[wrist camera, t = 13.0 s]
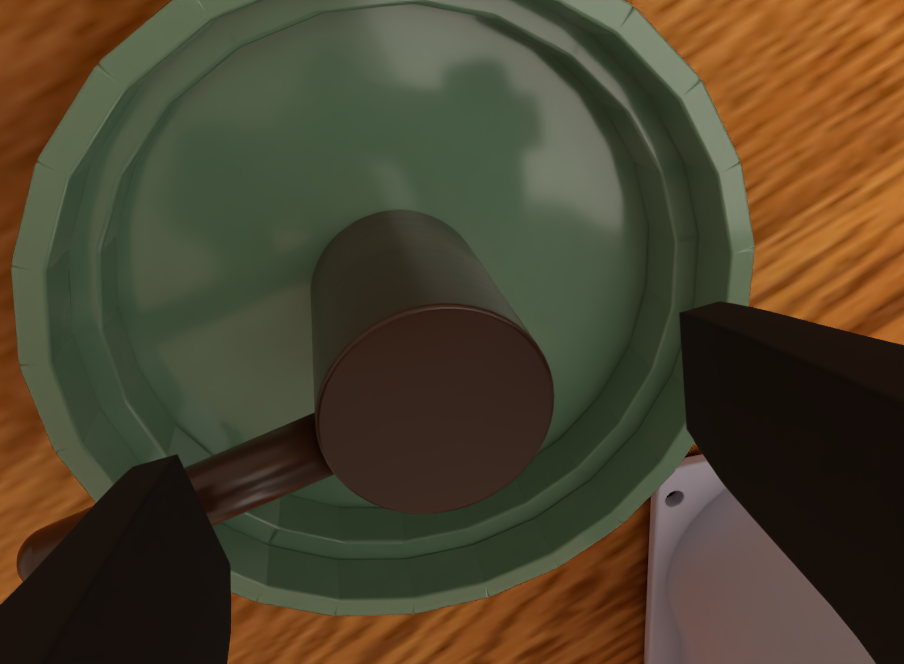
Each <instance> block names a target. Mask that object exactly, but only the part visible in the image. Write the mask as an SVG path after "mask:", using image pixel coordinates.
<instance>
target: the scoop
mask: <svg viewBox="0 0 904 664" xmlns="http://www.w3.org/2000/svg"><path fill="white" fill-rule="evenodd" d="M311 322H312V353H313V383H314V413H312V414H310V415H307V416H305V417H302V418H300V419H298V420H295V421H293V422H291V423H288V424H286V425H284V426H281V427H279V428H277V429H274V430H272V431H269V432H267V433H265V434H262V435H260V436H258V437H255V438H253V439H251V440H248V441H246V442H244V443H241V444H239V445H236V446H234V447H232V448H229V449H227V450H225V451H222V452H220V453H218V454H215V455H213V456H211V457H208V458H206V459H203V460H201V461H199V462H196V463H194V464H192V465H189V466H187V467H185V471H186V473H187V475H188V477H189V479H190V481H191V483H192V485H193V487H194V489H195V491H196V494H197V496H198V498H199V500H200V502H201V504H202V506H203V508H204V510H205V512H206V514H207V516H208V519H209V521H210V523H211V525H212V526H214V525H217V524H219V523H221V522H224V521H226V520H229V519H231V518H233V517H236V516H238V515H240V514H243V513H245V512H247V511H250V510H252V509H254V508H257V507H259V506H261V505H264V504H266V503H268V502H271V501H273V500H276V499H278V498H280V497H283V496H285V495H287V494H290V493H292V492H294V491H297V490H299V489H301V488H304V487H306V486H308V485H311V484H313V483H315V482H318V481H320V480H322V479H325V478H327V477H330V476H332V475H335V476H336V477H337V478H338V479H339V480H340V481H341V482H342V483H343V484H344V485H345V486H346V487H347V488H348V489H350V490H351V491H352V492H353V493H355V494H356V495H358V496H359V497H361V498H363V499H364V500H366V501H368V502H370V503H373V504H375V505H377V506H379V507H383V508H386V509H389V510H393V511H398V512H404V513H414V514H432V513H441V512H448V511H453V510H456V509H460V508H464V507H467V506H470V505H472V504H475V503H478V502H480V501H482V500H484V499H486V498H488V497H490V496H492V495H493V494H495V493H497V492H498V491H500V490H501V489H503V488H504V487H506V486H507V485H508V484H510V483H511V482H512V481H513V480H515V479H516V478H517V477H518V476H519V475H520V474H521V473H522V472H523V471H524V470H525V469H526V468H527V466H528V465H529V464H530V463H531V461H532V460H533V459H534V458H535V456H536V454H537V453H538V451H539V450H540V448H541V446H542V444H543V442H544V440H545V438H546V436H547V434H548V431H549V428H550V424H551V421H552V416H553V410H554V395H555V393H554V384H553V378H552V374H551V370H550V367H549V365H548V363H547V360H546V358H545V356H544V354H543V352H542V351H541V349H540V348H539V346H538V345H537V343H536V342H535V340H534V339H533V337H532V336H531V334H530V333H529V332H528V330H527V329H526V327H525V326H524V324H523V323H522V321H521V320H520V319H519V317H518V316H517V314H516V313H515V311H514V310H513V308H512V307H511V306H510V304H509V303H508V301H507V300H506V298H505V297H504V295H503V294H502V293H501V291H500V290H499V288H498V287H497V285H496V284H495V282H494V281H493V280H492V278H491V277H490V275H489V274H488V272H487V271H486V269H485V268H484V267H483V265H482V264H481V262H480V261H479V259H478V258H477V256H476V255H475V254H474V252H473V251H472V249H471V248H470V246H469V245H468V243H467V242H466V241H465V240H464V239H463V238H462V236H461V235H460V234H459V233H458V232H456V231H455V230H454V229H453V228H452V227H450V226H449V225H447V224H446V223H444V222H443V221H441V220H439V219H437V218H435V217H432V216H429V215H426V214H423V213H419V212H413V211H402V210H396V211H386V212H381V213H376V214H373V215H370V216H367V217H364V218H362V219H360V220H358V221H356V222H354V223H352V224H351V225H349V226H348V227H346V228H345V229H343V230H342V231H341V232H340V233H339V234H338V235H337V236H336V237H334V239H333V240H332V241H331V242H330V243H329V244H328V245H327V247H326V248H325V250H324V251H323V253H322V254H321V256H320V258H319V260H318V262H317V265H316V267H315V270H314V274H313V277H312V283H311ZM91 508H92V507H90V508H88V509H86V510H83V511H81V512H78V513H76V514H74V515H71V516H69V517H67V518H64V519H62V520H60V521H57V522H55V523H53V524H50V525H48V526H45V527H43V528H41V529H39V530H37V531H36V532H34V533H33V534H32V535H31V536H29V537H28V538H27V539H26V540H25V542H24V543H23V545H22V546H21V548H20V550H19V553H18V556H17V571H18V574H19V577H20V578H21V580H22V581H23V582H24V581H25V580H26V579H27V577H28V576H29V575H30V574H31V573H32V572H33V571H34V570H35V569H36V568H37V567H38V566H39V565H40V563H41V562H42V561H43V560H44V559H45V558H46V557H47V556H48V555H49V554H50V553H51V552H52V550H53V549H54V548H55V547H56V546H57V545H58V544H59V543H60V542H61V541H62V540H63V539H64V537H65V536H66V535H67V534H68V533H69V532H70V531H71V530H72V529H73V528H74V527H75V525H76V524H77V523H78V522H79V521H80V520H81V519H82V518H83V517H84V516H85V515H86V513H87V512H88V511H89V510H90V509H91Z"/></svg>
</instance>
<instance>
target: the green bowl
mask: <svg viewBox="0 0 904 664" xmlns="http://www.w3.org/2000/svg"><path fill="white" fill-rule="evenodd" d="M396 210H402V211H413V212H419V213H423V214H426V215H429V216H432V217H435V218H437V219H439V220H441V221H443V222H444V223H446V224H447V225H449V226H450V227H452V228H453V229H454V230H455V231H456V232H458V233H459V234H460V235H461V236H462V238H463V239H464V240H465V241H466V242H467V243H468V245H469V246H470V248H471V249H472V251H473V252H474V254H475V255H476V256H477V258H478V259H479V261H480V262H481V264H482V265H483V267H484V268H485V269H486V271H487V272H488V274H489V275H490V277H491V278H492V280H493V281H494V282H495V284H496V285H497V287H498V288H499V290H500V291H501V293H502V294H503V295H504V297H505V298H506V300H507V301H508V303H509V304H510V306H511V307H512V308H513V310H514V311H515V313H516V314H517V316H518V317H519V319H520V320H521V321H522V323H523V324H524V326H525V327H526V329H527V330H528V332H529V333H530V334H531V336H532V337H533V339H534V340H535V342H536V343H537V345H538V346H539V348H540V349H541V351H542V352H543V354H544V356H545V358H546V360H547V363H548V365H549V367H550V370H551V374H552V378H553V384H554V393H555V395H554V410H553V416H552V421H551V424H550V428H549V431H548V434H547V436H546V438H545V440H544V442H543V444H542V446H541V448H540V450H539V451H538V453H537V454H536V456H535V458H534V459H533V460H532V461H531V463H530V464H529V465H528V466H527V468H526V469H525V470H524V471H523V472H522V473H521V474H520V475H519V476H518V477H517V478H516V479H515V480H513V481H512V482H511V483H510V484H508V485H507V486H506V487H504V488H503V489H501V490H500V491H498V492H497V493H495V494H493V495H492V496H490V497H488V498H486V499H484V500H482V501H480V502H478V503H475V504H472V505H470V506H467V507H464V508H460V509H456V510H453V511H448V512H441V513H432V514H414V513H404V512H398V511H393V510H389V509H386V508H383V507H379V506H377V505H375V504H373V503H370V502H368V501H366V500H364V499H363V498H361V497H359V496H358V495H356V494H355V493H353V492H352V491H351V490H350V489H348V488H347V487H346V486H345V485H344V484H343V483H342V482H341V481H340V480H339V479H338V478H337V477H336V476H335V475H332V476H330V477H327V478H325V479H322V480H320V481H318V482H315V483H313V484H311V485H308V486H306V487H304V488H301V489H299V490H297V491H294V492H292V493H290V494H287V495H285V496H283V497H280V498H278V499H276V500H273V501H271V502H268V503H266V504H264V505H261V506H259V507H257V508H254V509H252V510H250V511H247V512H245V513H243V514H240V515H238V516H236V517H233V518H231V519H229V520H226V521H224V522H221V523H219V524H217V525H214V526H212V527H213V529H214V531H215V533H216V535H217V537H218V539H219V542H220V544H221V546H222V548H223V550H224V552H225V554H226V556H227V558H228V560H229V562H230V567H231V592H232V593H234V594H236V595H239V596H241V597H244V598H246V599H249V600H251V601H256V602H258V603H262V604H267V605H273V606H279V607H284V608H290V609H295V610H301V611H307V612H312V613H318V614H323V615H329V616H334V615H335V616H372V615H410V614H412V613H414V614H417V613H422V612H426V611H431V610H435V609H440V608H444V607H449V606H454V605H458V604H463V603H467V602H472V601H476V600H481V599H485V598H487V597H488V596H489V597H492V596H494V595H496V594H499V593H501V592H503V591H506V590H508V589H510V588H512V587H515V586H517V585H519V584H522V583H524V582H526V581H529V580H531V579H533V578H536V577H538V576H540V575H543V574H545V573H547V572H550V571H552V570H554V569H557V568H558V566H562V565H564V564H565V563H567V562H568V561H569V560H571V559H572V558H574V557H575V556H577V555H578V554H580V553H581V552H583V551H584V550H586V549H587V548H589V547H590V546H592V545H593V544H595V543H596V542H597V541H599V540H600V539H602V538H603V537H605V536H606V535H608V534H609V533H611V532H612V531H614V530H615V529H617V528H618V527H620V526H621V525H622V524H621V523H624V522H626V521H627V520H628V519H629V518H630V516H631V515H632V514H633V513H634V512H635V511H636V510H637V509H638V508H639V507H640V506H641V505H642V504H643V503H644V502H645V501H646V500H647V499H648V498H649V497H650V496H651V495H652V494H653V493H654V492H655V491H656V490H657V489H658V488H659V487H660V486H661V485H662V484H663V483H664V482H665V481H666V480H667V479H668V478H669V477H670V476H671V475H672V474H673V473H674V472H675V470H676V469H675V468H678V467H679V466H680V464H681V462H682V461H683V459H684V458H685V456H686V455H687V453H688V452H689V450H690V448H691V447H692V445H693V444H694V442H695V441H694V440H693V438H692V437H691V435H690V434H689V432H688V431H687V429H686V413H685V397H684V381H683V365H682V350H681V334H680V318H679V312H683V311H686V310H690V309H693V308H697V307H701V306H704V305H708V304H711V303H715V302H718V301H721V302H728V303H734V304H739V305H744V306H749V299H750V289H751V280H752V270H753V261H754V251H755V249H754V245H755V244H754V238H753V232H752V226H751V219H750V213H749V207H748V201H747V195H746V189H745V182H744V176H743V170H742V164H741V163H740V159H739V157H738V154H737V152H736V150H735V148H734V146H733V144H732V142H731V140H730V138H729V136H728V133H727V131H726V129H725V127H724V125H723V123H722V121H721V119H720V117H719V115H718V113H717V110H716V108H715V106H714V104H713V102H712V100H711V98H710V96H709V94H708V92H707V90H706V87H705V85H704V83H703V81H702V80H700V77H699V75H698V74H697V73H696V72H695V71H694V70H693V69H692V68H691V67H690V66H689V64H688V63H687V62H686V61H685V60H684V59H683V58H682V57H681V56H680V55H679V54H678V53H677V51H676V50H675V49H674V48H673V47H672V46H671V45H670V44H669V43H668V42H667V41H666V40H665V38H664V37H663V36H662V35H661V34H660V33H659V32H658V31H657V30H656V29H655V28H654V27H653V25H652V24H651V23H650V22H649V21H648V20H647V19H646V18H645V17H644V16H643V15H642V14H641V12H640V11H639V10H638V9H637V8H635V7H632V5H631V3H629V2H628V1H626V0H171V1H170V2H168V3H167V4H166V5H165V6H164V7H163V8H161V9H160V10H159V11H158V12H157V13H155V14H154V15H153V16H152V17H151V18H149V19H148V20H147V21H146V22H145V23H143V24H142V25H141V26H140V27H139V28H138V29H136V30H135V31H134V32H133V33H132V34H130V35H129V36H128V37H127V38H126V39H124V40H123V41H122V42H121V43H120V44H118V45H117V46H116V47H115V48H114V49H113V50H111V51H110V52H109V53H108V54H107V55H105V56H104V57H103V58H102V59H101V60H100V61H99V64H98V65H96V66H95V67H94V68H93V70H92V71H91V73H90V74H89V76H88V78H87V79H86V81H85V82H84V84H83V86H82V87H81V89H80V90H79V92H78V94H77V95H76V97H75V98H74V100H73V102H72V103H71V105H70V106H69V108H68V110H67V111H66V113H65V115H64V116H63V118H62V119H61V121H60V123H59V124H58V126H57V127H56V129H55V131H54V132H53V134H52V135H51V137H50V139H49V140H48V142H47V143H46V145H45V147H44V148H43V150H42V151H41V153H40V155H39V156H38V162H37V163H36V164H35V165H34V170H33V174H32V178H31V182H30V186H29V190H28V194H27V199H26V203H25V207H24V211H23V215H22V219H21V224H20V228H19V232H18V236H17V240H16V244H15V248H14V253H13V257H12V261H11V262H12V265H13V266H12V267H11V276H12V288H13V300H14V312H15V324H16V336H17V348H18V360H19V363H20V364H21V365H20V369H21V372H22V374H23V377H24V379H25V381H26V384H27V386H28V389H29V391H30V393H31V396H32V398H33V401H34V403H35V406H36V408H37V410H38V413H39V415H40V418H41V420H42V422H43V425H44V427H45V430H46V432H47V435H48V437H49V439H50V442H51V444H52V447H53V449H54V450H55V451H56V453H57V455H58V456H59V458H60V459H61V460H62V461H63V463H64V464H65V465H66V466H67V468H68V469H69V470H70V471H71V473H72V474H73V475H74V476H75V477H76V479H77V480H78V481H79V482H80V484H81V485H82V486H83V487H84V489H85V490H86V491H87V492H88V494H89V495H90V496H91V497H92V499H93V500H94V501H95V502H96V503H97V501H98V500H99V499H100V498H101V497H102V496H103V495H104V494H105V493H106V492H107V491H108V490H109V489H110V488H111V487H112V486H113V485H114V484H115V483H116V482H117V481H118V480H119V479H120V478H121V477H122V476H123V475H124V474H125V473H126V472H127V471H128V470H129V469H131V468H132V467H133V466H137V465H140V464H144V463H147V462H151V461H154V460H158V459H162V458H165V457H169V456H172V455H176V454H178V456H179V458H180V460H181V462H182V464H183V466H184V468H185V467H187V466H189V465H192V464H194V463H196V462H199V461H201V460H203V459H206V458H208V457H211V456H213V455H215V454H218V453H220V452H222V451H225V450H227V449H229V448H232V447H234V446H236V445H239V444H241V443H244V442H246V441H248V440H251V439H253V438H255V437H258V436H260V435H262V434H265V433H267V432H269V431H272V430H274V429H277V428H279V427H281V426H284V425H286V424H288V423H291V422H293V421H295V420H298V419H300V418H302V417H305V416H307V415H310V414H312V413H314V383H313V353H312V322H311V283H312V277H313V274H314V270H315V267H316V265H317V262H318V260H319V258H320V256H321V254H322V253H323V251H324V250H325V248H326V247H327V245H328V244H329V243H330V242H331V241H332V240H333V239H334V237H336V236H337V235H338V234H339V233H340V232H341V231H342V230H343V229H345V228H346V227H348V226H349V225H351V224H352V223H354V222H356V221H358V220H360V219H362V218H364V217H367V216H370V215H373V214H376V213H381V212H386V211H396Z"/></svg>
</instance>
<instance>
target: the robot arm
mask: <svg viewBox="0 0 904 664" xmlns="http://www.w3.org/2000/svg"><path fill="white" fill-rule="evenodd" d="M679 318H680V334H681V350H682V365H683V381H684V397H685V413H686V429H687V431H688V432H689V434H690V435H691V437H692V438H693V440H694V441H695V443H696V445H697V446H698V448H699V449H700V451H701V452H702V454H701V455H696V456H691V457H686V458H684V459H683V461H682V462H681V464H680V466H679V467H678V468H675V469H676V470H675V472H674V473H673V474H672V475H671V476H670V477H669V478H668V479H667V480H666V481H665V482H664V483H663V484H662V485H661V486H660V487H659V488H658V489H657V490H656V491H655V492H654V493H653V494H652V495H651V509H650V532H649V555H648V578H647V601H646V624H645V647H644V664H904V345H901V344H896V343H892V342H888V341H884V340H879V339H875V338H871V337H867V336H863V335H859V334H855V333H851V332H847V331H843V330H839V329H835V328H831V327H828V326H824V325H820V324H816V323H812V322H808V321H805V320H801V319H797V318H793V317H789V316H785V315H782V314H778V313H774V312H770V311H766V310H761V309H757V308H753V307H749V306H744V305H739V304H734V303H728V302H721V301H718V302H715V303H711V304H708V305H704V306H701V307H697V308H693V309H690V310H686V311H683V312H679ZM674 491H676V492H675V493H674V494H673V495H672V496H669V497H667V496H668V495H669V494H670V493H671V492H674ZM230 635H231V567H230V562H229V560H228V558H227V556H226V554H225V552H224V550H223V548H222V546H221V544H220V542H219V539H218V537H217V535H216V533H215V531H214V529H213V527H212V525H211V523H210V521H209V519H208V516H207V514H206V512H205V510H204V508H203V506H202V504H201V502H200V500H199V498H198V496H197V494H196V491H195V489H194V487H193V485H192V483H191V481H190V479H189V477H188V475H187V473H186V471H185V468H184V466H183V464H182V462H181V460H180V458H179V456H178V454H176V455H172V456H169V457H165V458H162V459H158V460H154V461H151V462H147V463H144V464H140V465H137V466H133V467H132V468H131V469H129V470H128V471H127V472H126V473H125V474H124V475H123V476H122V477H121V478H120V479H119V480H118V481H117V482H116V483H115V484H114V485H113V486H112V487H111V488H110V489H109V490H108V491H107V492H106V493H105V494H104V495H103V496H102V497H101V498H100V499H99V500H98V501H97V503H96V504H95V505H94V506H93V507H92V508H91V509H90V510H89V511H88V512H87V513H86V515H85V516H84V517H83V518H82V519H81V520H80V521H79V522H78V523H77V524H76V525H75V527H74V528H73V529H72V530H71V531H70V532H69V533H68V534H67V535H66V536H65V537H64V539H63V540H62V541H61V542H60V543H59V544H58V545H57V546H56V547H55V548H54V549H53V550H52V552H51V553H50V554H49V555H48V556H47V557H46V558H45V559H44V560H43V561H42V562H41V563H40V565H39V566H38V567H37V568H36V569H35V570H34V571H33V572H32V573H31V574H30V575H29V576H28V577H27V579H26V580H25V581H24V582H23V583H22V584H21V585H20V586H19V587H18V588H17V589H16V590H15V591H14V592H13V593H12V594H11V595H10V596H9V597H8V598H7V599H6V600H5V601H4V602H3V603H2V604H1V605H0V664H227V660H228V652H229V643H230Z"/></svg>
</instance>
